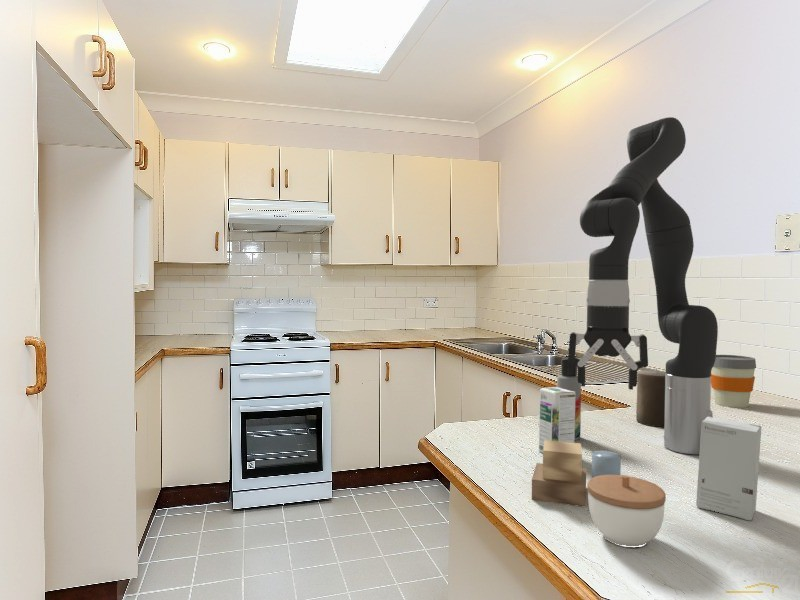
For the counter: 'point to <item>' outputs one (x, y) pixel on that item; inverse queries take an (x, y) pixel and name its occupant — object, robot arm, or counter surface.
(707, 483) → the skincare box
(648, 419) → the pillar candle
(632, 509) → the lidded jar
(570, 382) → the lotion bottle
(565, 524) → the counter surface
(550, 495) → the walnut slab
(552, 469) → the oak block
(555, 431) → the syrup box
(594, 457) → the blue rounded cylinder
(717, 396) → the reusable coffee cup
